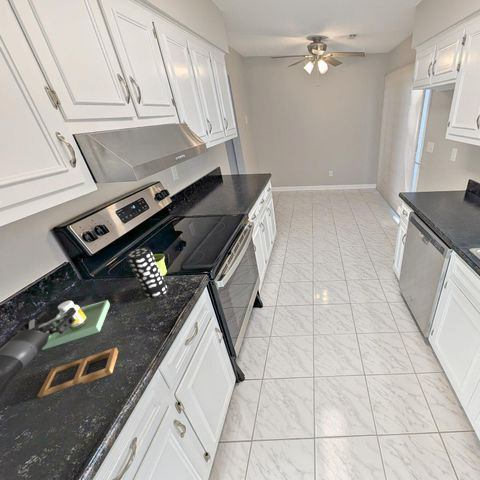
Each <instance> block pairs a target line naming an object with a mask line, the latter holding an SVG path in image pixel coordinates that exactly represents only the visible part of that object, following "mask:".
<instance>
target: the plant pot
mask: <svg viewBox="0 0 480 480" xmlns="http://www.w3.org/2000/svg"><path fill="white" fill-rule="evenodd" d="M153 256H154V259H155V261H156V263H157V266H158V268H159V270H160V272H161V275H162V277H164V276H166V275H167V273H168V272H167V267H166V263H165V255H164V254H163V253H156V254H153Z"/></svg>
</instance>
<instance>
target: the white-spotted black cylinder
mask: <svg viewBox="0 0 480 480" xmlns="http://www.w3.org/2000/svg"><path fill="white" fill-rule="evenodd" d="M153 255H154V254H153V252H152V249H151V248H150V247H147V246H144V247H139V248H135V249H133V250H131V251H129V252H127V253H126V254H125V258H126V260H127V262H128V264H129V266H130V268H131V270H132V272H133V275H134V277H135V278H136V280H137V282H138V284H139V287H140V288H141V291H142V292H143V294H144V296H145V298H146V299H148V300H152V299H156V298H160V297H162V296H164V295H165V294H166V293H167V291H168V290H169V289H168V286H167V283H166V281H165V279H164V276H162V275H161V272H160V270H159V268H158V266H157V263H156V261H155V259H154V256H153Z"/></svg>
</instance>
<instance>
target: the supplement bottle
mask: <svg viewBox="0 0 480 480" xmlns="http://www.w3.org/2000/svg"><path fill="white" fill-rule="evenodd" d="M71 307H74V308H75V310H76V313H75V314H74V315H73V317H74V319H75V321H74V322H73V323H72V324H71V325H70V326H69V328H70V329H77V328H80V327H82V326H83V325H85V324H86V323H87V321H88V319H87V317H86V316H85V315H84V313H83V312H82V310H81V309H80V308H81V307H80V305H78V304H75V303H74V301H72V300H66V301H63V302H62V303H60V304H59V305H58V306H57V309H58V311H59V313H58V314H59V315H60V316H63V315H64V314H65V313H66V312H67V311H68V310H69V308H71ZM63 320H64V318H63Z"/></svg>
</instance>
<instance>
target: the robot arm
mask: <svg viewBox="0 0 480 480" xmlns="http://www.w3.org/2000/svg"><path fill="white" fill-rule="evenodd" d="M75 313H76V310H75V308H74V307H71V308H69V310H68V311H67V312H66V313H65V314H64V315H63V316H61V317H59V318H53V319H51V320H48V321H46V322H45V320H47V319H48V318H49V313H48V312H47V311H42V312H41V313H39V314H38V315H37V316H36V317H35V318H33V319H31V320H29V322H27V321H24V322H22V323H21V324H20V325H18V327H17V328H16V329H14V330H13V332H11V333H10V334H9V337H10V339H9V340H8V342H6V343H5V344H4V345H3V346H2V347H0V399H1V398H2V397H3V395H4V393H5V392H6V389H7V387H8V385H9V383H10V382H11V381H12V380H13V379H14V378H15V377H16V376H17V375H18V374H19V373H20V371H21V370H22V369H23V368H25V367H26V366H27V365H28V364H29V363H30V362H32V360H33V359H34V358H35V357H36V356H37V355H38V354H39V353H40V351H42V348H43V347H44V346H45V345H46V344H47V342H48V338H49V336H50V335H52V334H53V333H54V332H59V333H60V334H62V333H64V332H65V331H66V330H67V329H68V328H69V326H70V325H71V324H72V323H73V322H74V321H75V319H74V317H73V315H74V314H75ZM63 318H64V320H63V321H62V322H60V320H62V319H63ZM54 322H56V323H57V326H56V327H55V325H54V324H53V323H54Z"/></svg>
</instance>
